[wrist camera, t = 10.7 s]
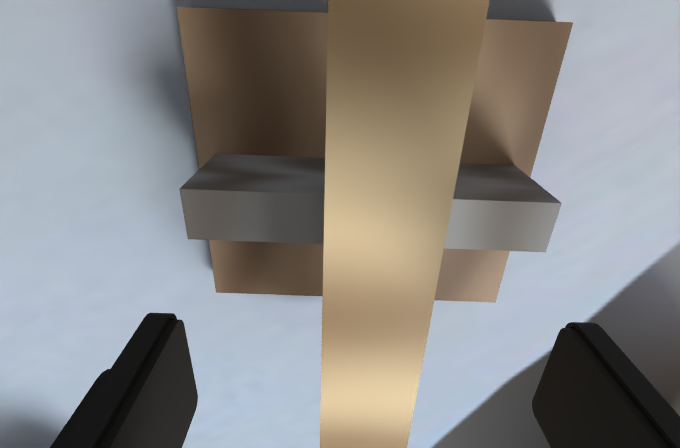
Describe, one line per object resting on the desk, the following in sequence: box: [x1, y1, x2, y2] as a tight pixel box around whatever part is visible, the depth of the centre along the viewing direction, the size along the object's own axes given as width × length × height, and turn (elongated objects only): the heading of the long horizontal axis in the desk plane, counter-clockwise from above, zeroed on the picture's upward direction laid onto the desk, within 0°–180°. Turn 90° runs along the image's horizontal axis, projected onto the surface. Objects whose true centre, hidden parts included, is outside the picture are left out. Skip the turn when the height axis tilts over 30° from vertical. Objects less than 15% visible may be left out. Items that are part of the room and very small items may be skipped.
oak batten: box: [320, 0, 490, 448], centre depth 14 cm, size 26×3×6 cm, turn 178°
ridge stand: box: [177, 7, 573, 302], centre depth 19 cm, size 18×16×6 cm
